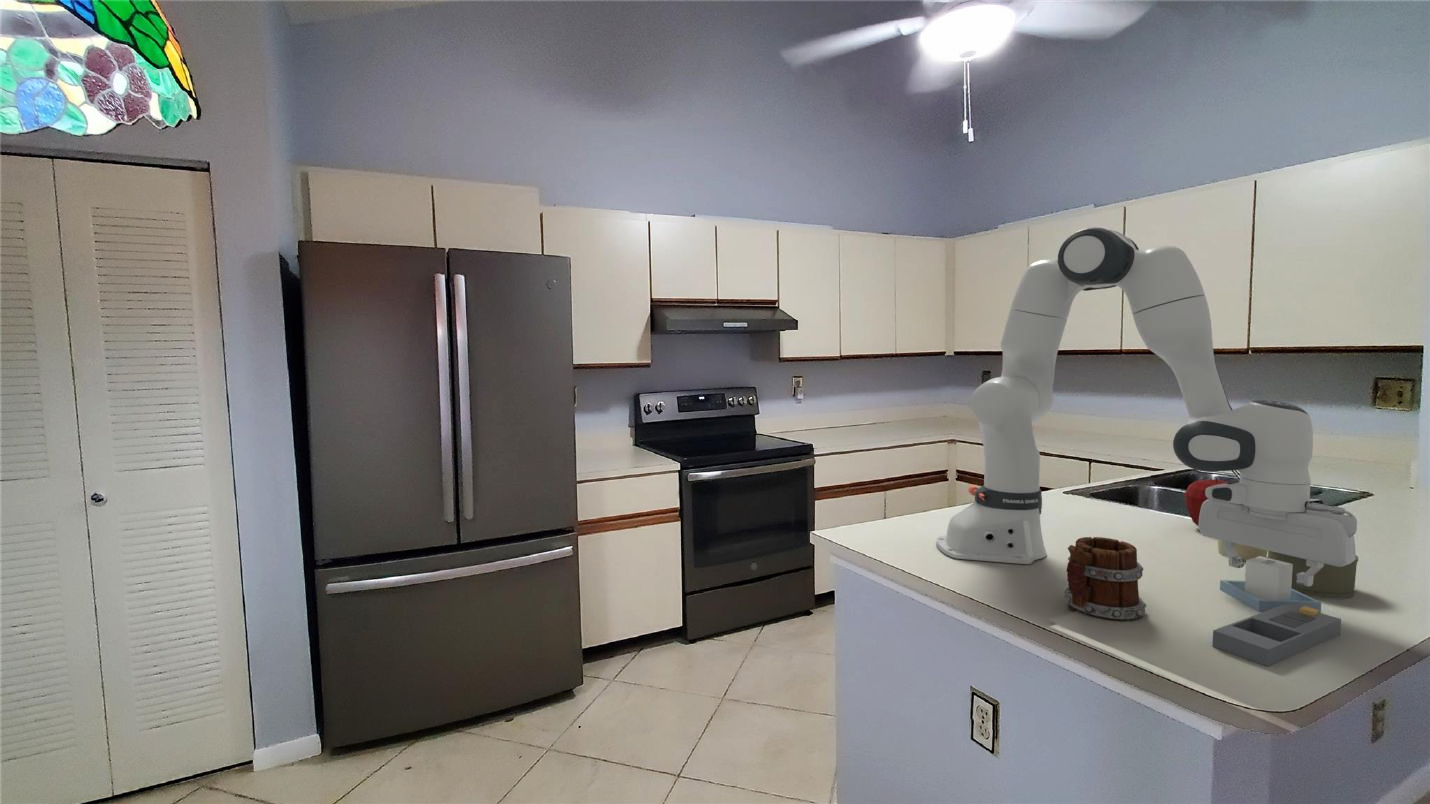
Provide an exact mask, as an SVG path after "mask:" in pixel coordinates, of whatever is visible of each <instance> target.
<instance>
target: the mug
mask: <svg viewBox="0 0 1430 804" xmlns="http://www.w3.org/2000/svg"><path fill="white" fill-rule="evenodd" d="M1067 551H1068V552H1069V556H1068V558H1067V559H1068V560H1067V561H1068V562H1067V566H1066V573H1067V574H1066V575H1067V576H1066V578H1067V583H1068V584H1067V586H1068V587H1067V588H1065V589H1064V590H1063V593H1064V599H1065V602H1066V603H1067V606H1068V607H1067V608H1068V609H1069V610H1070V611H1072V613H1075V612H1080V613H1082V614H1086V615H1087V616H1090V617H1094V618H1097V619H1103V620H1108V621H1119V622H1120V621H1125V622H1126V621H1134V620H1137V619H1139V618H1140V617H1143V616H1144V614H1145V612H1146V607H1147V604H1146V603H1145V601H1143V599H1142V598H1141V597H1140V595H1139V594H1140V592H1139V580H1140V579H1142V577H1143V571H1144V567H1143V566H1142V564H1140V563H1139V562H1138V550H1137V548H1136V546H1134V545H1133V544H1131V543H1129V542H1127V541H1124V540H1122V541H1119V539H1114V538H1110V537H1103V536H1102V537H1101V536H1093V537H1091V536H1085V537H1080V538H1078V539H1076V541H1075V545H1072V544H1070V545H1069V546H1068V547H1067Z"/></svg>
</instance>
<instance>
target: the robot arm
mask: <svg viewBox="0 0 1430 804" xmlns="http://www.w3.org/2000/svg"><path fill="white" fill-rule="evenodd" d="M1115 287H1118V288H1120V289H1121V290H1122V291H1123V292H1124V294H1125V295H1126V298H1127V301H1128V303H1129V306H1130V310H1131V314H1132V318H1133V321H1134V323H1135V327H1136V329H1137V332H1138V333H1139V335H1140V338H1141V339H1142V341H1143V343H1144V345H1145V346H1146V347H1147V349H1148V350H1150V351H1151V352H1152V353H1153V354H1155V355H1156V356H1157V357H1159V358H1160V359H1162V360H1163V361H1164V362H1165V363H1166V364H1167V365H1168V367H1170V369H1171V370H1172V372H1173V374H1174V376H1175V378H1176V380H1177V383H1178V386H1179V389H1180V392H1181V395H1182V399H1183V401H1184V404H1185V408H1186V410H1187V413H1188V418H1187V419H1188V420H1187V423H1185V424H1184V425H1183V426H1182V427H1180V428H1179V429H1178V430H1177V431H1176V433H1175V435H1174V436H1173V437H1174V438H1173V440H1172V441H1173V442H1172V448H1173V452H1174V454H1175V457H1177V459H1178V460H1179V461H1180V462H1181V463H1183V464H1184V465H1185V466H1186V467H1188V468H1190V469H1193V470H1195V471H1199V472H1205V473H1216V472H1229V471H1231V472H1232V471H1238V472H1239V481H1233V482H1230V483H1227V484H1219V485H1214V486H1210V487H1208V488H1206V490H1205V491H1206V492H1205V495H1206V497H1207V498H1209V499H1208V500H1206V501H1204V502H1203V504H1202V506H1201V510H1200V515H1199V525H1198V526H1197V527H1198V530H1199V532H1200V533H1201V535H1202V536H1204V537H1208V538H1212V539H1216V540H1218V539H1220V540H1222V547H1223V549H1224V550H1225V552H1226V554H1227V555H1228V556H1229V557H1228V566H1229V567H1231V568H1232V567H1233V568H1236V569H1241V568H1243V567H1244V562H1245V561H1244V557H1240V556H1238V554H1237V552H1236V550H1235V548H1234V546H1237V544H1241V545H1246V546H1250V547H1255V548H1259V549H1263V550H1268V551H1272V552H1276V553H1281V554H1285V555H1289V556H1294V557H1298V558H1302V559H1307V560H1306V565H1307V566H1309V567H1310V566H1311V568H1310V569H1309V570H1308V571H1307V572H1306V573H1305V572H1301V573H1298V574H1297V580H1296V582H1297V584H1301V585H1304V586H1308V587H1309V586H1312V584H1313V577H1314V575H1315V574H1316V573H1317V572H1318V571H1319V570H1320V569H1321V568H1322V567H1323V566H1324V564H1328V565H1333V566H1337V567H1342V566H1346V565H1348V564H1350V563H1352V562H1353V561H1354V560H1355V556H1357V554H1356V542H1355V534H1356V533H1357V529H1358V528H1357V527H1358V520H1357V518H1356V516H1355V515H1354V514H1353V513H1351V512H1350V511H1349V510H1346V508H1344V507H1341V506H1335V505H1333V506H1331V505H1326V504H1322V503H1318V502H1313V501H1311V497H1310V496H1311V476H1310V474H1309V465H1310V463H1311V460H1312V458H1313V451H1314V449H1313V448H1314V433H1313V432H1314V430H1313V423H1312V418H1311V417H1310V415H1309V413H1308V412H1307V411H1306V410H1304V409H1303V408H1302V407H1300V406H1298V405H1295V404H1291V403H1287V402H1281V401H1275V400H1266V399H1255V400H1250V401H1249V402H1248V403H1246V404H1244V405H1242V406H1239V407H1237V408H1234V409H1233V408H1232V406H1231V405H1230V402H1229V400H1228V396H1227V395H1226V391H1225V388H1224V385H1223V383H1222V380H1221V376H1220V373H1219V371H1218V367H1217V365H1216V361H1215V360H1216V359H1215V354H1214V345H1213V344H1214V342H1213V330H1212V321H1211V320H1212V319H1211V314H1210V309H1209V305H1208V301H1207V298H1206V293H1205V291H1204V287H1203V285H1202V282H1201V281H1200V278H1199V275H1198V274H1197V271H1196V269H1195V267H1194V266H1193V264H1192V262H1191V260H1190V259H1189V257H1188V255H1187V253H1186V252H1185V251H1184V250H1182V249H1181V248H1179V247H1176V246H1172V245H1161V246H1159V245H1158V246H1154V247H1150V248H1147V249H1143V250H1140V249H1139V247H1138V245H1137V244H1136V243H1135V241H1133V240H1132V239H1131V238H1129V237H1127V236H1126V235H1125V234H1123V233H1120V231H1117V230H1112V229H1106V228H1103V227H1097V226H1096V227H1095V226H1094V227H1087V228H1082V229H1080V230H1078V231H1076V232H1074V233H1072V234H1071V235H1069V236H1068V237H1067V238H1066V239H1065V240H1064V241H1063V243H1062V244H1061V245H1060V247H1059V250H1058V252H1057V259H1049V258H1048V259H1040V260H1038V261H1035V262H1032V263H1031V264H1030V265H1028V266H1027V268H1026V269H1025V271H1024V272H1023V275H1022V276H1021V279H1020V281H1019V283H1018V286H1017V288H1016V291H1015V293H1014V296H1013V298H1012V302H1011V305H1010V309H1009V312H1008V316H1007V320H1006V323H1005V326H1004V330H1003V334H1002V337H1001V341H1000V347H1001V351H1002V366H1001V367H1002V370H1001V376H999V377H994V378H990V379H989V380H987V381H985V382H983V383H982V384H981V385H979V386H978V387H977V388H976V389H975V390H974V391H973V393H972V395H971V397H970V410H971V413H972V415H973V417H974V418H975V419H976V421H977V422H978V427H979V431H980V436H981V440H982V441H981V442H982V447H983V454H984V455H983V457H984V469H983V471H984V472H983V473H984V474H983V475H984V477H983V478H984V479H983V480H984V481H983V483H984V484H983V485H982V486H980V487H979V488H978V487H977V486H975V485H969V487H968V489H967V490H968V493H969V494H970V495H971V496H974V502H973V503H971V504H969V505H968V506H967V507H965V508H964V509H963V510H961V511H959V512H958V513H955V515H953V516H952V517H950V520H949V522H948V526H947V531H946V535H940V536H938V537H937V538H936V547H937V548H938V549H939V550H940V551H941V552H942V553H943V554H945V555H946V556H949V557H951V558H954V559H958V560H960V559H961V560H970V561H972V560H973V561H982V562H983V561H984V562H994V563H1007V564H1019V565H1030V564H1033V562H1034V561H1036V560H1039V559H1043V558H1045V557H1046V556H1047V555H1048V554H1047V550H1046V546H1045V543H1044V538H1043V533H1042V525H1041V514H1042V509H1043V497H1042V492H1043V491H1042V489H1041V488H1040V487H1041V486H1040V485H1041V484H1040V482H1041V480H1040V479H1041V454H1040V453H1041V452H1040V451H1039V449H1038V448H1037V445H1036V441H1035V435H1034V429H1033V423H1034V422H1037V421H1039V420H1040V419H1042V418H1043V417H1044V416H1045V415H1046V414H1047V413H1048V412H1049V411H1050V409H1052V406H1053V405H1054V403H1053V402H1054V393H1053V389H1054V383H1055V382H1054V380H1055V370H1056V364H1057V363H1056V362H1057V361H1056V360H1057V356H1058V351H1059V349H1060V345H1061V341H1062V338H1063V334H1064V332H1065V327H1066V325H1067V321H1068V317H1069V314H1070V311H1071V308H1072V304H1073V301H1074V299H1075V298H1076V296H1077V295H1078V294H1079V293H1080V292H1082V291H1083V292H1088V291H1095V290H1105V289H1106V290H1107V289H1111V288H1115ZM1268 551H1267V552H1268Z"/></svg>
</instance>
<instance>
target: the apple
mask: <svg viewBox="0 0 1430 804" xmlns="http://www.w3.org/2000/svg"><path fill="white" fill-rule="evenodd" d="M1214 478H1215V479H1199V480H1195V481H1194V482H1192V483H1191V484H1189V485H1188V486H1187V488H1186V490H1185V491H1184V496H1185V498H1184V500H1185V507H1186V509H1187V511H1188V514H1189V516H1190V518H1191V520H1192V523H1194V525H1196V526H1197V527H1198V525H1199V515H1200V510H1201V506H1202V504H1203V502H1204V501H1206V500H1208V499H1209V498H1207V497H1206V495H1205V492H1206V491H1205V490H1206V488H1208V487H1210V486H1214V485H1219V484H1227V483H1231V482H1230V481H1226V480H1225V481H1224V480H1219V479H1218V478H1217V477H1216V476H1215V477H1214Z"/></svg>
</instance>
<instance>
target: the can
mask: <svg viewBox="0 0 1430 804" xmlns="http://www.w3.org/2000/svg"><path fill="white" fill-rule="evenodd" d="M1267 558H1269V559H1274V560H1278V561H1282V562H1286V563H1290V564H1293V568H1292V585H1291V588H1292V589H1294V590H1296V591H1298V592H1300V593H1302V594H1304V595H1307V596H1313V597H1318V598H1325V599H1326V598H1327V599H1350V598H1352V597H1354V596H1355V587H1356V574H1357V565H1358V561H1359V557H1358V555H1356V556H1355V560H1354V561H1353V562H1352V563H1350V564H1348V565H1346V566H1342V567H1337V566H1333V565H1328V564H1324V566H1323V567H1322V568H1321V569H1320V570H1319V571H1318V572H1317V573H1316V574H1315V575H1314V577H1313V584H1312V586H1309V587H1308V586H1304V585H1301V584H1297V582H1296V580H1297V574H1298V573H1301V572H1305V573H1306V572H1307V571H1308V570H1309V569H1310V568H1311V566H1310V567H1309V566H1307V565H1306V560H1307V559H1302V558H1298V557H1294V556H1289V555H1285V554H1281V553H1276V552H1272V551H1267ZM1349 597H1350V598H1349Z"/></svg>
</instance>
